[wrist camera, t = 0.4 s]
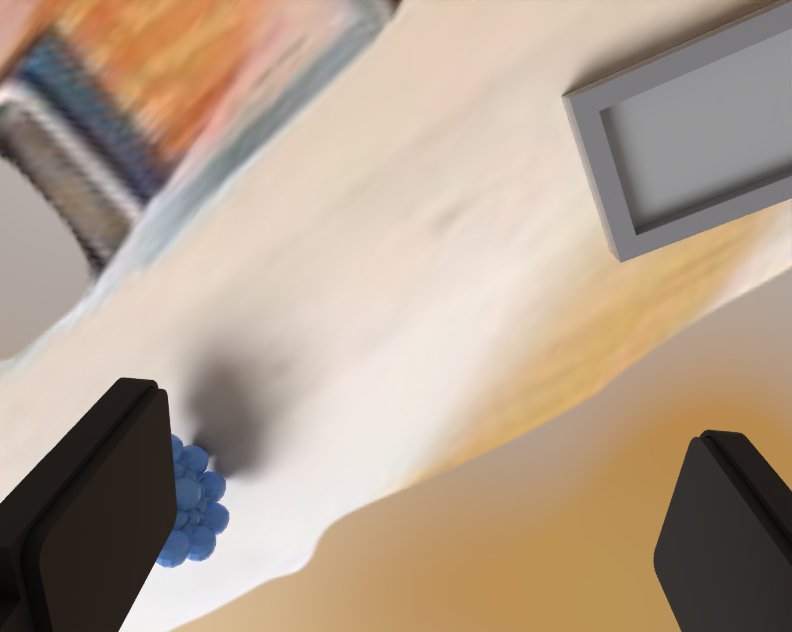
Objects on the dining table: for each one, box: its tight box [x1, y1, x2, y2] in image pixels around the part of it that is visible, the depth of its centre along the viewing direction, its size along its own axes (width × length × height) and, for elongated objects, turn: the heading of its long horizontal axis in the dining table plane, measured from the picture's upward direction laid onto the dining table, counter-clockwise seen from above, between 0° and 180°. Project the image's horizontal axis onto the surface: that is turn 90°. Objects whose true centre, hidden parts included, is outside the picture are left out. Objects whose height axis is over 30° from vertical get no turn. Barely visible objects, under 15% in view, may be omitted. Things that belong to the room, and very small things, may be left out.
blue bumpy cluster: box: [156, 434, 229, 568], centre depth 49 cm, size 12×7×12 cm, turn 27°
